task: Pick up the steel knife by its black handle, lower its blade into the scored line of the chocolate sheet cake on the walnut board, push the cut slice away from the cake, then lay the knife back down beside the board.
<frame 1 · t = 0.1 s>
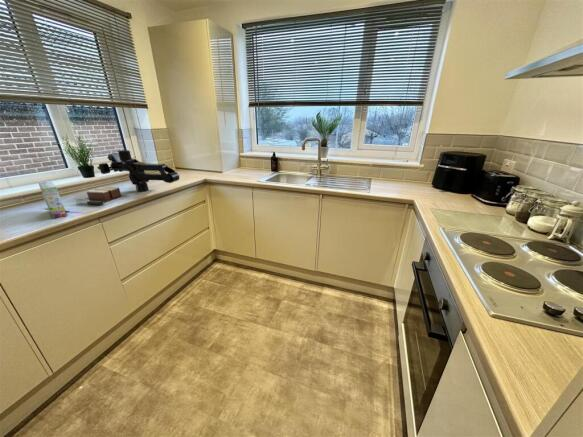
hand: (104, 166, 157), 17 cm above the countertop, tool horizontal, fingers open, 9 cm apart
cake slice: (100, 198, 142), point 1 cm above the countertop, touching cake board
snack box: (58, 212, 124), on the countertop
knife: (96, 206, 132), on the countertop
cake board: (103, 199, 144), on the countertop
sheet cake: (109, 196, 147), resting on cake board
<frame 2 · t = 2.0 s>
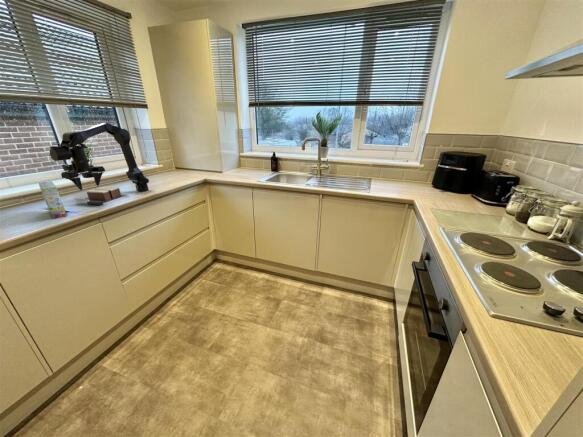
hand: (89, 187, 128), 11 cm above the countertop, tool pointing down, fingers open, 9 cm apart
nothing on the countertop moved.
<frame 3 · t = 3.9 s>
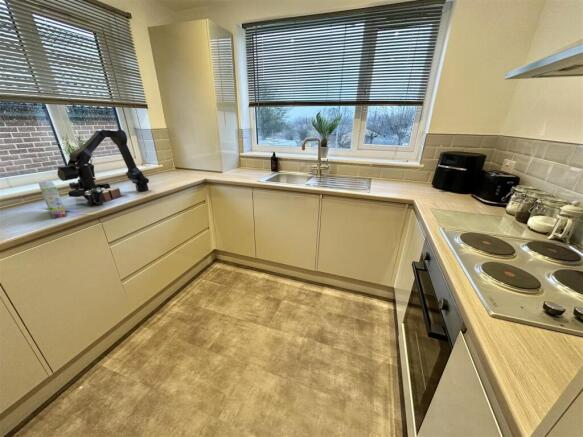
hand: (95, 204, 132), 1 cm above the countertop, tool pointing down, fingers closed on knife, 2 cm apart
knife: (96, 206, 132), on the countertop, touching gripper
everything else where it was.
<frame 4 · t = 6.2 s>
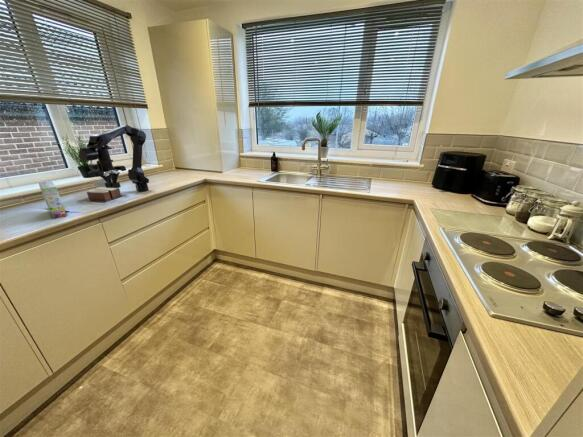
hand: (112, 185, 139), 9 cm above the countertop, tool pointing down, fingers closed on knife, 2 cm apart
knife: (113, 187, 139), point 8 cm above the countertop, touching gripper
everything else where it was.
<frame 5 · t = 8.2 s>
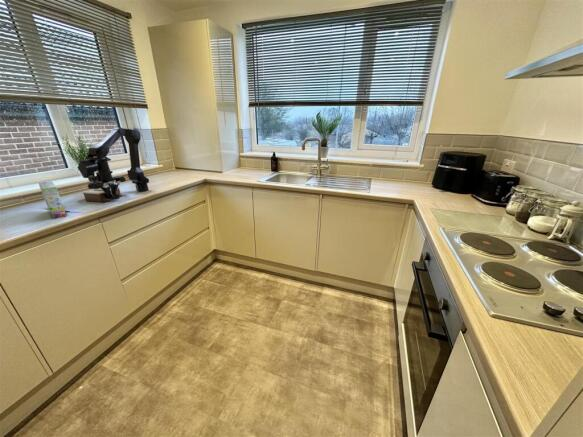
hand: (112, 196, 138), 3 cm above the countertop, tool pointing down, fingers closed on knife, 2 cm apart
cake slice: (96, 200, 140), point 1 cm above the countertop, touching cake board, knife
knife: (112, 198, 139), point 2 cm above the countertop, touching cake slice, gripper
everything else where it was.
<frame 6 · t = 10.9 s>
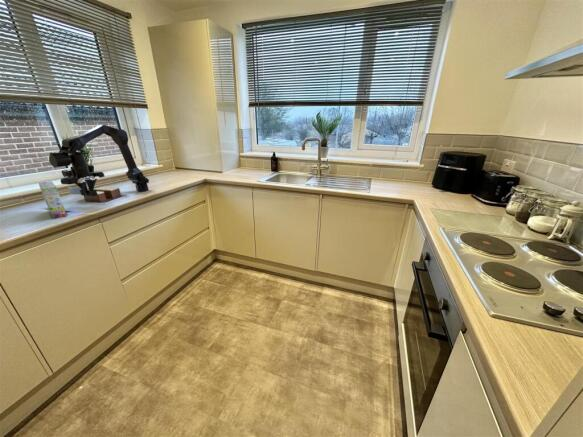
hand: (89, 193, 128), 8 cm above the countertop, tool pointing down, fingers closed on knife, 2 cm apart
cake slice: (95, 200, 140), point 1 cm above the countertop, touching cake board
knife: (89, 195, 128), point 7 cm above the countertop, touching gripper
everything else where it was.
when the fingers open (1 cm above the countertop, at t = 12.6 s): knife stays where it is, on the countertop.
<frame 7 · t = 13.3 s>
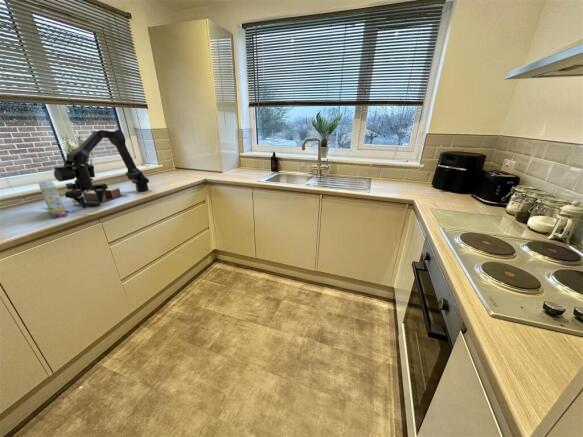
hand: (92, 205, 130), 1 cm above the countertop, tool pointing down, fingers open, 9 cm apart
knife: (93, 207, 131), on the countertop
everything else where it was.
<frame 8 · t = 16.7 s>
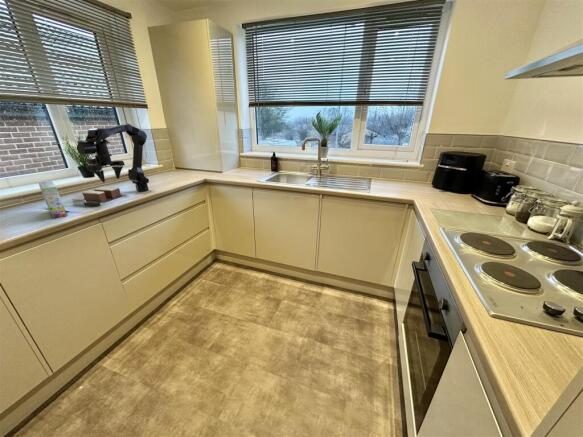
hand: (111, 180, 138), 12 cm above the countertop, tool pointing down, fingers open, 9 cm apart
nothing on the countertop moved.
at the end: cake slice moved 2.4 cm from its start; cake slice tilted 0°; knife inside the target area (0.2 cm from its centre), on the countertop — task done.
